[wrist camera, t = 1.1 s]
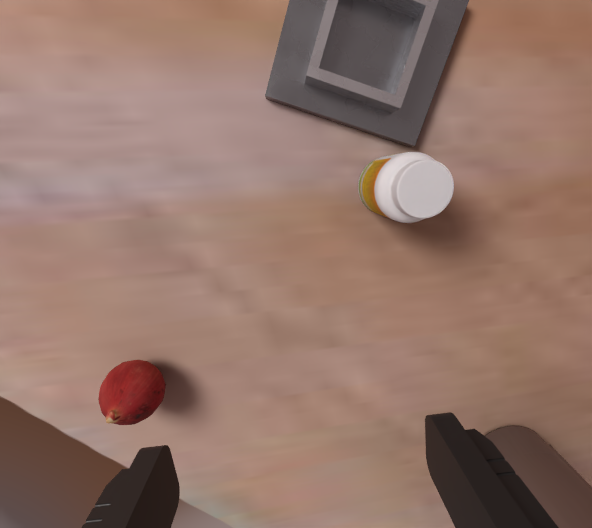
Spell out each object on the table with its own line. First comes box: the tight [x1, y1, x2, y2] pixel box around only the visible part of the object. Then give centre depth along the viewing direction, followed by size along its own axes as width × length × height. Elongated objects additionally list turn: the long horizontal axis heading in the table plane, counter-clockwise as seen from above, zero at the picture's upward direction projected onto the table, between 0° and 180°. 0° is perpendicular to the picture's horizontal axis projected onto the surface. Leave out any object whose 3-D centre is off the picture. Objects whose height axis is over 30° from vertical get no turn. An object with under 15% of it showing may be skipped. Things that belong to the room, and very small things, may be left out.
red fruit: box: [99, 360, 166, 425], centre depth 33 cm, size 6×6×8 cm
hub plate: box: [265, 0, 469, 147], centre depth 27 cm, size 14×12×3 cm
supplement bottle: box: [358, 152, 454, 223], centre depth 27 cm, size 5×5×10 cm
